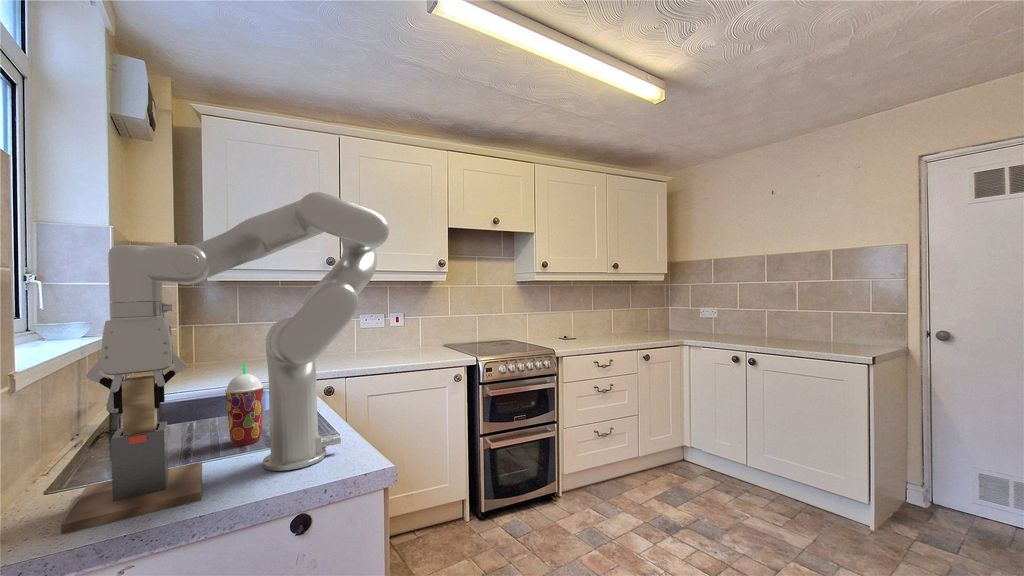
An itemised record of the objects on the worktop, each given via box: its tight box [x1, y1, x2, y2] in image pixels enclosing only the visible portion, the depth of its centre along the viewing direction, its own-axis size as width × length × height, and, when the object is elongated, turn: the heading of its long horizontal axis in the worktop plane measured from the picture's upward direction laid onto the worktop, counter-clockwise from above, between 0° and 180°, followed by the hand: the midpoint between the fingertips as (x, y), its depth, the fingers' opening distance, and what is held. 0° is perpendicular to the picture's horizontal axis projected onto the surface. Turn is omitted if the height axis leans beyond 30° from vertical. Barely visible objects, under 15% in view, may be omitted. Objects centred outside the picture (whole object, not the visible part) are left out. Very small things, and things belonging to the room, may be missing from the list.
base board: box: [60, 461, 203, 535], centre depth 82 cm, size 18×18×2 cm
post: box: [122, 374, 158, 435], centre depth 82 cm, size 5×5×18 cm
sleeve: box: [110, 420, 169, 502], centre depth 82 cm, size 7×8×11 cm
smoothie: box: [224, 362, 265, 447], centre depth 111 cm, size 8×8×20 cm
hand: (140, 408), depth 82 cm, fingers closed on post, 4 cm apart
